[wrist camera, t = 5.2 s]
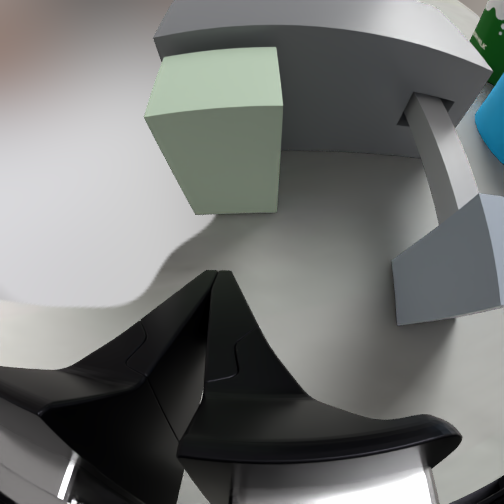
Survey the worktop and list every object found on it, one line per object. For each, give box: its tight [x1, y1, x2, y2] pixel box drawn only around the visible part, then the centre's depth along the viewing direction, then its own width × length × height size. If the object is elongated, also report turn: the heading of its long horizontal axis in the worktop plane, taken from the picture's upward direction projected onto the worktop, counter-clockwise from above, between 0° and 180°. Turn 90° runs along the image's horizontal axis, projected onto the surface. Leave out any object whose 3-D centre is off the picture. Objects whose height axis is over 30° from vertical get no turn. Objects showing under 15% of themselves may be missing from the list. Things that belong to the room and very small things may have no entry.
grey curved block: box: [153, 0, 493, 158], centre depth 15 cm, size 8×18×10 cm, turn 90°
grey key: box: [391, 92, 504, 326], centre depth 13 cm, size 16×5×9 cm, turn 0°
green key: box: [144, 47, 283, 215], centre depth 15 cm, size 14×5×9 cm, turn 0°
